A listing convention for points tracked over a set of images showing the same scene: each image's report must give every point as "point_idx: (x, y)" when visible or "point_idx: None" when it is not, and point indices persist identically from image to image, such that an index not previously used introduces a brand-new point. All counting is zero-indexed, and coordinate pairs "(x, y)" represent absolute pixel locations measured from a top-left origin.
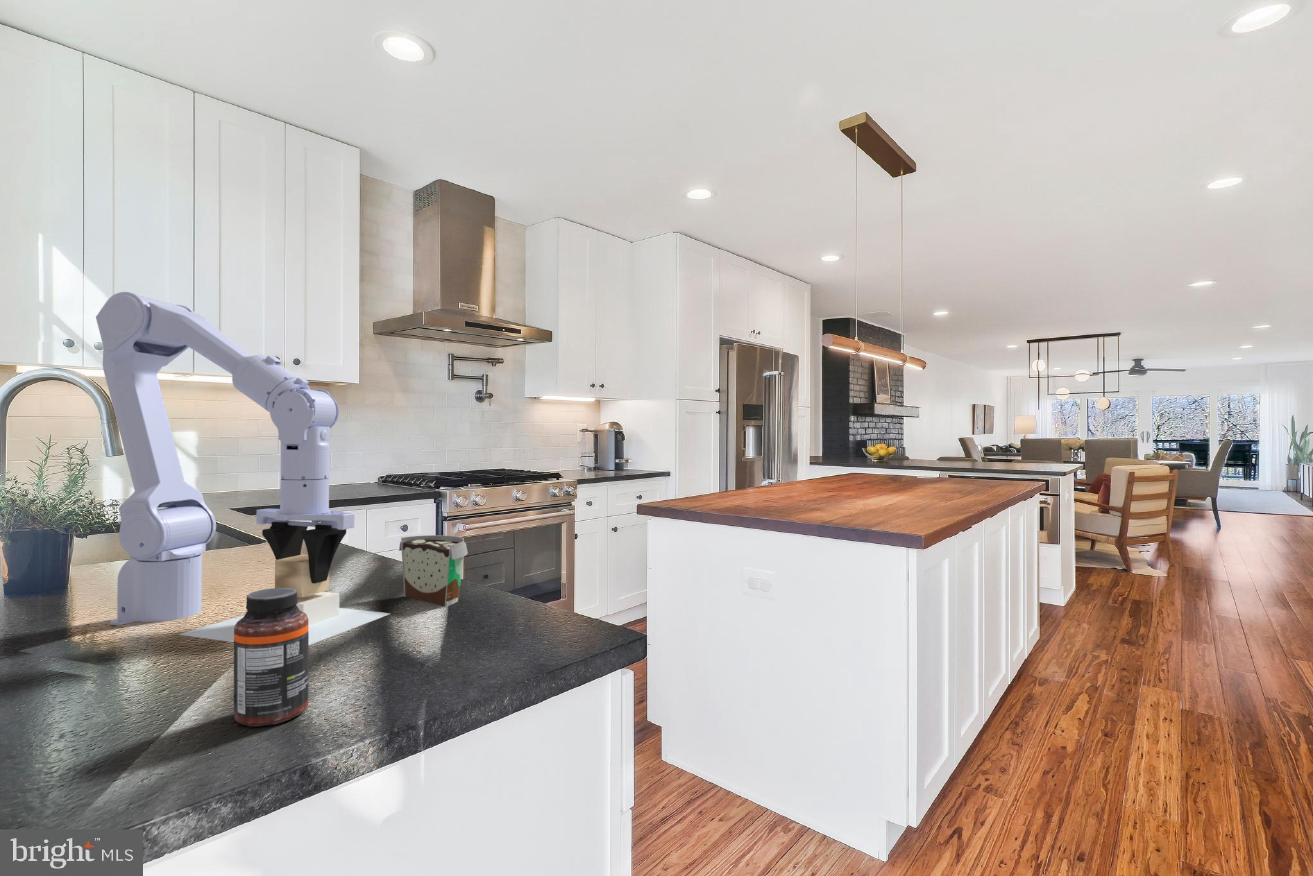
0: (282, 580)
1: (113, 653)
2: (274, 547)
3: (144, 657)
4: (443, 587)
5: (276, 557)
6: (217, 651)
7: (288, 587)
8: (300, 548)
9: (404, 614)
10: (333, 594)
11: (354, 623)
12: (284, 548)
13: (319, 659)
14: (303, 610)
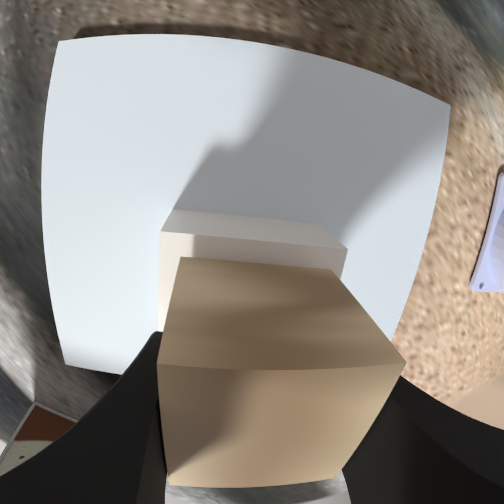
0: (310, 297)
1: (479, 50)
2: (457, 428)
3: (421, 17)
4: (25, 440)
5: (419, 395)
6: (310, 45)
7: (263, 279)
8: (351, 494)
9: (87, 392)
10: None
11: (69, 279)
12: (405, 456)
13: (20, 71)
14: (165, 225)
